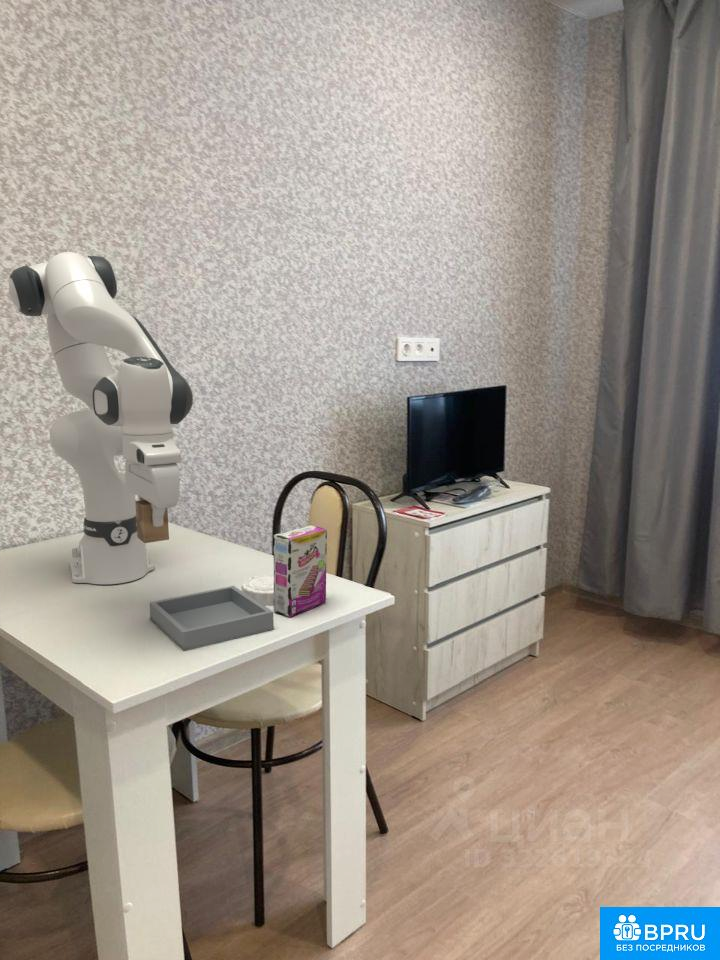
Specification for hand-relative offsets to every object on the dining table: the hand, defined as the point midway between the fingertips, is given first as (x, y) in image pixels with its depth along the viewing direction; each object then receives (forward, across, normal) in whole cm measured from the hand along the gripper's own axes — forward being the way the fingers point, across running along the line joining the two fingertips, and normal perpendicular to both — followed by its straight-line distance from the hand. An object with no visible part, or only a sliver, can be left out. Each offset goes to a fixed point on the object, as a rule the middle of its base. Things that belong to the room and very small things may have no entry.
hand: (152, 522), depth 137 cm
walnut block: (+3, 0, 0) cm, 3 cm away
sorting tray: (+21, +2, +10) cm, 24 cm away
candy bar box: (+22, +4, +29) cm, 36 cm away
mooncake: (+22, -6, +27) cm, 35 cm away
